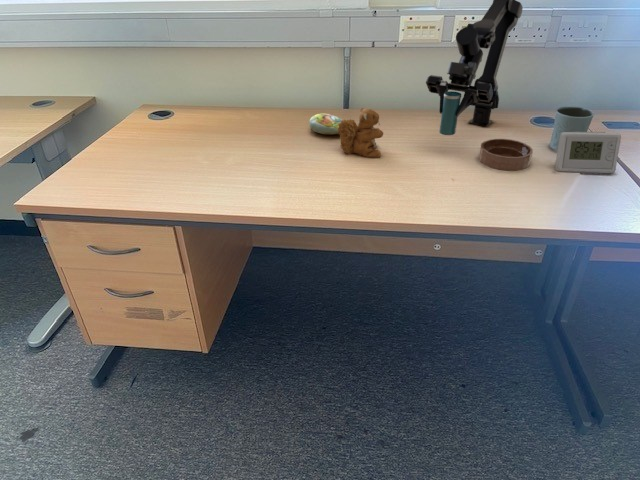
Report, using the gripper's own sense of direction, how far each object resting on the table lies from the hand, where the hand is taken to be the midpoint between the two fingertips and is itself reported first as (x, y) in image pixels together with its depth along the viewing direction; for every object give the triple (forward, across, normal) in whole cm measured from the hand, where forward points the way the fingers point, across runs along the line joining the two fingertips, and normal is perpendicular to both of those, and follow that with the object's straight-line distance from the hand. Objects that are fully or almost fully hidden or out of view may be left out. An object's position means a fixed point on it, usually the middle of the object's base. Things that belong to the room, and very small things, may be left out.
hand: (448, 114), depth 132 cm
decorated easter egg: (+10, -42, +9) cm, 44 cm away
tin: (+3, 0, +5) cm, 6 cm away
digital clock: (+1, +37, +18) cm, 41 cm away
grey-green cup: (-8, +30, +27) cm, 41 cm away
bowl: (+5, +17, +13) cm, 22 cm away
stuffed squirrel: (+16, -23, +2) cm, 29 cm away
